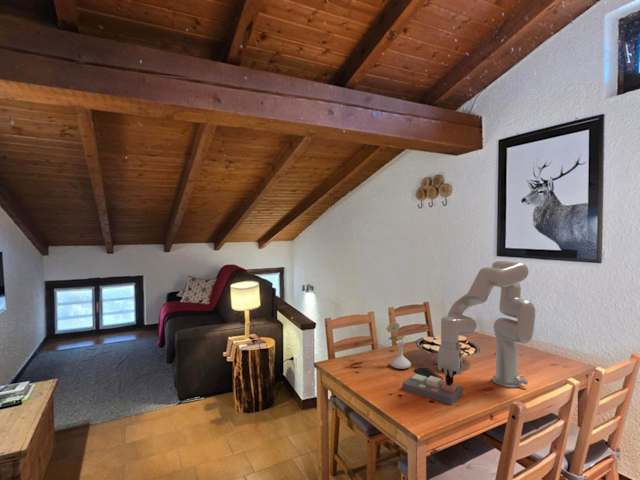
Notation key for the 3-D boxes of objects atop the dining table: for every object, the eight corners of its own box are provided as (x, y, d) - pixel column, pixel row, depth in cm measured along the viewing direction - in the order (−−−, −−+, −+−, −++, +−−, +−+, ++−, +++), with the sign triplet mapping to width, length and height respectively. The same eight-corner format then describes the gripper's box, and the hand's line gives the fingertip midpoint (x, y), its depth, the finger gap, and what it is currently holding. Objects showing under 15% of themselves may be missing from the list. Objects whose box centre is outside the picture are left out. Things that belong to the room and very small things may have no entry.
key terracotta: (457, 390, 158) (457, 383, 158) (453, 394, 154) (453, 387, 154) (446, 386, 162) (446, 380, 162) (441, 390, 158) (441, 384, 158)
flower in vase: (409, 362, 196) (408, 319, 195) (412, 371, 185) (412, 325, 184) (385, 362, 197) (385, 319, 197) (387, 370, 186) (387, 324, 185)
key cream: (441, 385, 163) (441, 378, 163) (437, 389, 159) (437, 382, 159) (431, 381, 167) (431, 375, 167) (426, 385, 163) (426, 379, 163)
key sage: (426, 383, 168) (426, 376, 168) (421, 386, 164) (421, 380, 164) (416, 379, 172) (416, 373, 172) (411, 383, 168) (411, 377, 168)
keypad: (462, 393, 159) (462, 386, 159) (451, 405, 149) (451, 398, 148) (416, 379, 174) (416, 373, 174) (402, 389, 164) (402, 382, 164)
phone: (425, 367, 188) (443, 378, 174) (425, 369, 188) (443, 380, 174) (413, 369, 185) (430, 380, 171) (413, 371, 186) (430, 382, 171)
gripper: (469, 346, 155) (469, 386, 155) (437, 339, 165) (436, 376, 165) (463, 350, 149) (463, 392, 150) (430, 342, 159) (430, 382, 160)
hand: (449, 384), depth 158 cm, fingers closed
